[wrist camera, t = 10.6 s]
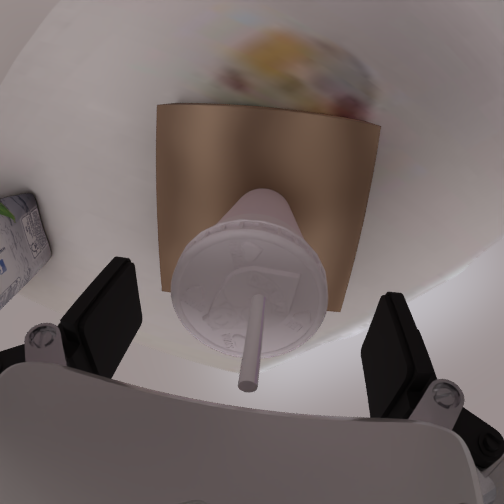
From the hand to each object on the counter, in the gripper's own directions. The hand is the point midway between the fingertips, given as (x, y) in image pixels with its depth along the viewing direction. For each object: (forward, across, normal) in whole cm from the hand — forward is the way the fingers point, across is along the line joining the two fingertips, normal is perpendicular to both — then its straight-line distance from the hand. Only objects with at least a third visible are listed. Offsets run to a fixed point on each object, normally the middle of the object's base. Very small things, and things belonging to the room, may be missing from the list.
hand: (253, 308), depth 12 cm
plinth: (+14, +1, +1) cm, 14 cm away
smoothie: (+11, 0, +1) cm, 11 cm away
